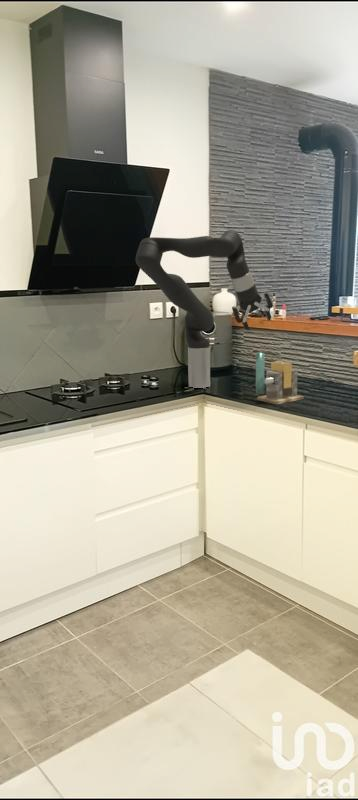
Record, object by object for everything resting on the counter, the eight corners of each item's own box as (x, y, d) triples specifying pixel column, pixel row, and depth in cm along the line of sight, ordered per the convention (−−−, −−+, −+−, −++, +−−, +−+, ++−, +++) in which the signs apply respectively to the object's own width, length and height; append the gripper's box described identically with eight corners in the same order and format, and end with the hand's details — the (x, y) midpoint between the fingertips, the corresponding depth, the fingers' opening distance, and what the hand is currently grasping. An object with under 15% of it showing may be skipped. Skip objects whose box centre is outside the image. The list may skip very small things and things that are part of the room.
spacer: (283, 388, 233) (284, 364, 231) (270, 385, 239) (271, 362, 237) (291, 387, 235) (291, 363, 233) (278, 384, 241) (278, 360, 239)
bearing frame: (277, 404, 230) (277, 375, 227) (257, 399, 238) (257, 371, 236) (303, 398, 237) (304, 370, 235) (283, 394, 246) (283, 367, 244)
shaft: (259, 394, 229) (260, 353, 226) (254, 392, 232) (254, 352, 228) (293, 387, 239) (294, 349, 236) (287, 386, 241) (288, 348, 238)
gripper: (229, 297, 218) (244, 336, 225) (265, 279, 218) (279, 319, 225) (223, 291, 225) (238, 330, 232) (258, 274, 225) (272, 313, 232)
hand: (258, 324), depth 229 cm, fingers open, 8 cm apart
